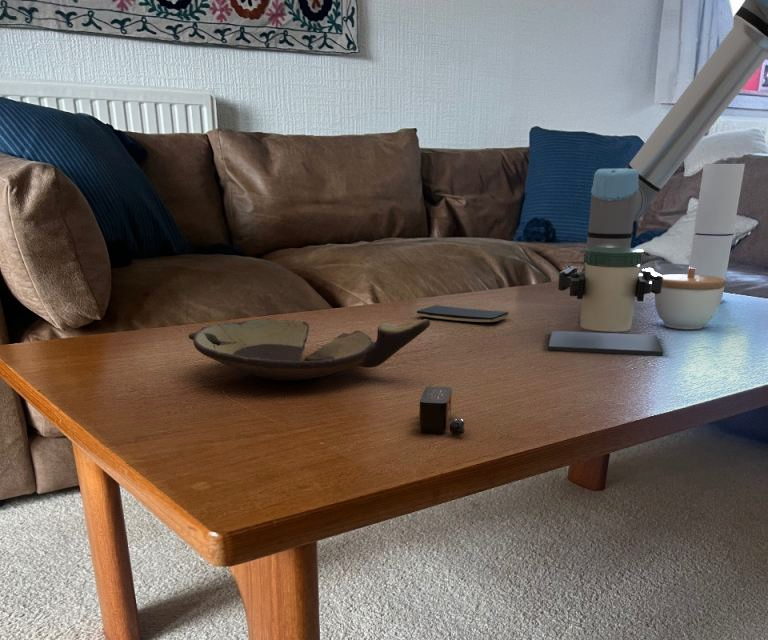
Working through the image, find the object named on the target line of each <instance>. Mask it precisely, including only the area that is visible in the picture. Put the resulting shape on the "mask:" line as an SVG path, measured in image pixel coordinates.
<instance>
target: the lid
mask: <svg viewBox="0 0 768 640" xmlns="http://www.w3.org/2000/svg"><path fill="white" fill-rule="evenodd" d="M584 262H585V263H588V264H593V265H604V266H635V265H640V266H641V265H642V264H643V262H644V250H643V249H640V248H635V247H634V248H633V247H630V248H621V247H594V248H587V249H586V248H585V249H584V255H583V263H584Z"/></svg>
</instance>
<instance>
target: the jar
mask: <svg viewBox="0 0 768 640" xmlns="http://www.w3.org/2000/svg"><path fill="white" fill-rule="evenodd" d="M640 267H641V264H640V265H635V266H604V265H593V264H588V263H586V265H585V276H584V288H583V298H582V299H581V305H580V306H581V307H580V316H579V327H580V328H581V329H584V330H589V331H593V332H594V331H595V332H604V333H611V332H612V333H615V332H616V333H618V332H627V331H631V330H632V328H633V322H634V314H635V306H636V300H637V298H636V291H637V283H638V276H639V273H640Z"/></svg>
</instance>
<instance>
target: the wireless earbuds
mask: <svg viewBox="0 0 768 640" xmlns="http://www.w3.org/2000/svg"><path fill="white" fill-rule="evenodd" d="M452 397H453V388H452V387H450V386H433V385H430V386H426V387H425V389H423V393H422V395H421V397H420V399H419V413H418V414H419V417H418V419H419V421H418V422H419V423H418V425H419V426H418V427H419V430H420V431H421V432H423V433H434V434H442V433H444V432H445V431H446V430H447V428H448V426H449V432H450V433H451V434H452V435H463V434H465V421H464V420H463V419H462V418H456V419H454V420H453V421H452V422H450V424H449V421H450V418H451V415H452V399H453V398H452ZM448 424H449V425H448Z"/></svg>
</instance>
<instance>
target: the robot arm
mask: <svg viewBox="0 0 768 640" xmlns="http://www.w3.org/2000/svg"><path fill="white" fill-rule="evenodd" d="M767 59H768V0H744V1H743V2H742V4H741V6H739V9H738V10H737V11H736V12H735V14H734V15H733V17H732V28H731V29H730V31H729V32H728V33H727V35H725V37H724V38H723V40H722V41H721V42H720V44H719V45H718V47H717V48H716V49H715V51H714V52H713V53H712V54H711V56H710V57H709V58H708V59H707V61H705V64H704V65H703V66H702V67H701V69H700V70H699V71H698V73H697V74H696V75H695V77H693V79H692V81H690V83H689V84H688V86H687V87H686V89H685V90H684V91H683V92H682V93H681V95H680V96H679V97H678V99H677V100H676V102H675V103H674V104H673V106H671V108H670V110H668V112H667V113H666V115H665V116H664V117H663V118H662V120H661V121H660V122H659V124H658V125H657V127H656V128H655V129H654V130H653V132H652V133H651V134H650V136H649V137H648V138H647V139H646V140H645V142H644V144H643V145H642V146H641V148H640V149H639V150H638V151H637V153H636V154H635V156H634V157H633V158H632V159H631V161H630V162H629V164H628V165H627V166H626V167H625V168H599V169H597V170H596V171H595V172H594V174H593V183H592V187H591V190H590V193H591V197H590V198H591V199H590V210H589V220H588V230H587V236H586V237H587V238H586V246H585V249H587V248H594V247H621V248H631V245H632V236H633V227H634V222H636V221H638V220H639V219H640V218H641V217H643V215H644V214H645V213H646V212H647V210H648V209H649V206H650V204H651V203H652V202H653V200H654V199H655V198H656V197H657V195H658V194H659V193H660V191H661V190H662V189H663V187H664V186H665V185H666V184H667V182H668V181H669V180H670V179H671V177H672V176H673V175H674V174H675V172H676V171H677V170H678V169H679V167H680V166H681V165H682V164H683V163H684V161H685V160H686V159H687V157H688V156H690V154H691V153H692V151H694V149H695V148H696V146H697V145H698V144H699V143H700V142H701V140H702V139H703V138H704V136H705V135H706V134H707V133H708V132H709V130H710V129H711V128H712V127H713V126H714V124H715V123H716V122H717V120H719V118H720V117H721V116H722V114H724V112H725V111H726V109H727V108H728V107H729V106H730V104H731V103H733V101H734V100H735V99H736V98H737V95H739V93H740V92H741V91H742V90H743V88H744V87H745V86H746V85H747V83H748V82H749V81H750V79H751V78H752V77H753V76H754V75H755V74H756V72H757V71H758V70H759V68H760V67H761V66H762V65H763V64H764V62H766V60H767ZM585 265H586V263H585V262H584V261H583V268H582V269H581V270H579V269H578V267H577V266H572V265H570V264H569V265H566V266H565V269H564V270H562V271H560V272H559V274H558V275H559V276H558V284H557V285H558V286H557V290H558V291H562V292H563V291H567V290H568V289H569V297H576V299H577V300H582V298H583V288H584V276H585ZM662 281H663V276H662V274H660V273H658V272H656V271H655V270H654V268H652V267H648V268H645V269H644V268H643V269H641V271H640V272H639V276H638V283H637V291H636V300H637V302H644V299H645V295H647V294H651V293H652V294H654V295H655V294H660V293H661V288H662Z"/></svg>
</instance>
